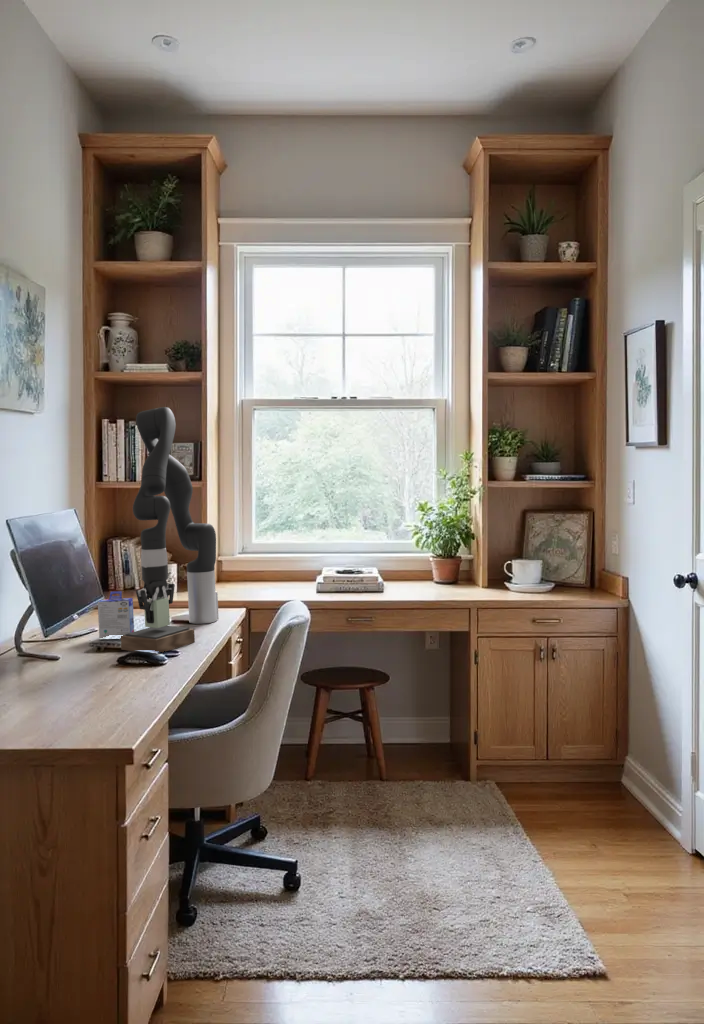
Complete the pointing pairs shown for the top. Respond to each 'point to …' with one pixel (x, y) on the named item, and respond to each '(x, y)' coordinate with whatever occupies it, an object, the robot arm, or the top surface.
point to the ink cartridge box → (115, 615)
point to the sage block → (159, 613)
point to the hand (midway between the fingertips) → (157, 620)
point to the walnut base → (158, 638)
